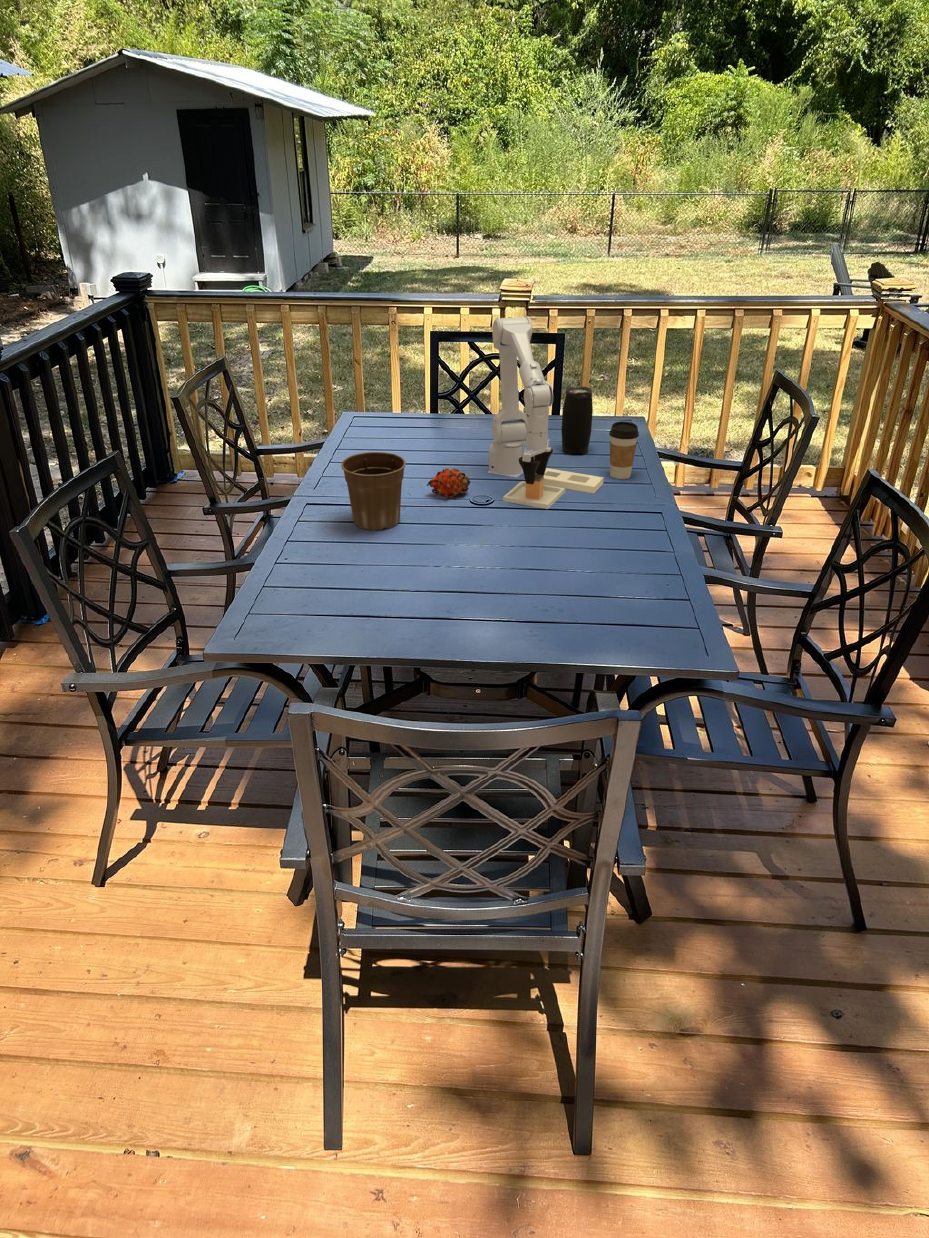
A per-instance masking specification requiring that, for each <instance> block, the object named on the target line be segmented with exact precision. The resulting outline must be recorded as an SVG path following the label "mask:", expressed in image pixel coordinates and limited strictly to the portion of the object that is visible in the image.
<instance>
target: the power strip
mask: <svg viewBox="0 0 929 1238" xmlns="http://www.w3.org/2000/svg"><path fill="white" fill-rule="evenodd" d="M603 484H604V477H603V476H597V475H592V474H591V475H590V474H584V473H578V472H572V471H567V470H561V469H554V468H548V467H546V470H545V474H544V485H548V486H553V487H559V488H565V490H571V491H577V492H582V493H583V492H584V493H588V494H595V493H596V492H597V491H598V490H599V489H600V488H601V487H602V486H603Z"/></svg>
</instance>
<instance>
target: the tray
mask: <svg viewBox="0 0 929 1238" xmlns="http://www.w3.org/2000/svg"><path fill="white" fill-rule="evenodd" d="M565 493H566V489H565V488H559V487H553V486H548V485H544V487H543V497H541V498H540V499H539V500H538V499H532V498H526V497H525V496H526V482H525V480H523V481H522V480H521V481H520V482H519V483H518V484H516V485H515V486H513V488H511V489H510V490H509V491H508V492H507V493H506V494H505V495H504V496H503V497H502V501H503V502H508V503H513V504H518V505H522V506H529V507H534V508H539V509H545V510H548V509H550V508H551V507H552V506H553V505H554V504H555V503H556V502H557V501H558V500H559V499H560V498H561V497H562V496H563V495H564V494H565Z"/></svg>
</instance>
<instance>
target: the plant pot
mask: <svg viewBox="0 0 929 1238" xmlns="http://www.w3.org/2000/svg"><path fill="white" fill-rule="evenodd" d="M406 465H407V461H406V460H405V458H403V457H402V456H400V455H399V454H396V453H391V452H383V451H368V452H361V453H360V452H359V453H356V454H352V455H350V456H347V457H346V458H344V459H343V460H342V461H341V469H342V471H343V475H344V479H345V482H346V484H347V485H346V486H347V491H348V497H349V501H350V509H351V514H352V515H351V516H352V522H353V524H354V525H355V527H356V528H360V529H362V530H366V531H382V529H391V528H393V527H395V526H397V525H398V524H399V523H400V520H401V503H402V502H401V501H402V485H403V479H404V473H405V472H404V471H405V468H406Z"/></svg>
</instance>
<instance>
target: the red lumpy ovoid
mask: <svg viewBox="0 0 929 1238" xmlns="http://www.w3.org/2000/svg"><path fill="white" fill-rule="evenodd" d="M470 483H471V480H470V478H469V476H467V475H466V474H465V472H462V471H460V470H459V469H458V468H456V467H453V468H452V469H449V468H443V469H442V470H441V471H437V472H436V475H435V476H434V477H432V479H430V480H429V481H428V482H427V484H426V486H427V487H430V488H432V489H431V492H432V493H433V494H435V495H440V496H442V497H444V496H446V498H447V499H450V498H452V497H457V496H458V497H459V496H460V494H465V493H466V492H468V490H469V487H470Z"/></svg>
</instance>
